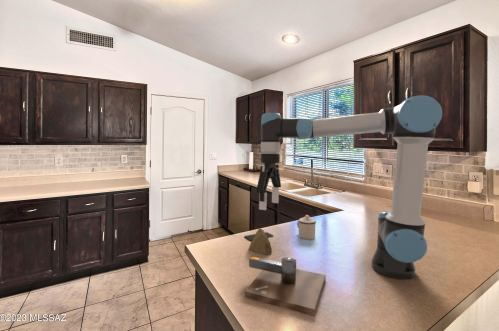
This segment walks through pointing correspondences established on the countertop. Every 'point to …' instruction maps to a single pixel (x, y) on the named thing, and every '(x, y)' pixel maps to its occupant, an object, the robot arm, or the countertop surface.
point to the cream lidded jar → (306, 227)
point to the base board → (288, 290)
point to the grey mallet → (277, 267)
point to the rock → (260, 243)
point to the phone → (250, 237)
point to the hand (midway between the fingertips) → (269, 206)
